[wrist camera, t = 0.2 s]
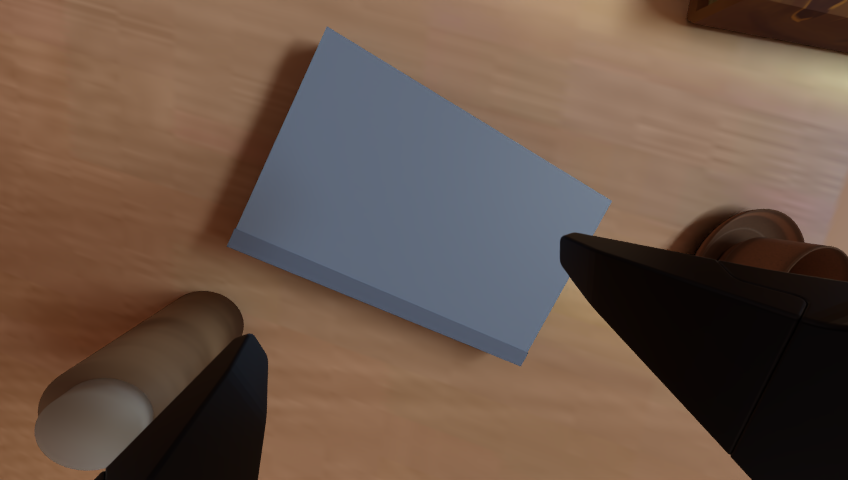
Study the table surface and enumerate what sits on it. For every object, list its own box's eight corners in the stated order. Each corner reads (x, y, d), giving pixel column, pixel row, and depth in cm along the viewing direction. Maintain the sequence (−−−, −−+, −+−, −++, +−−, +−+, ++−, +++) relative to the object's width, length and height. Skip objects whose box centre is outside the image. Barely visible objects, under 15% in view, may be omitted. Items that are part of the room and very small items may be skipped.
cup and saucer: (799, 228, 31) (903, 240, 25) (745, 341, 32) (830, 378, 27) (706, 189, 28) (797, 193, 22) (652, 315, 30) (723, 349, 24)
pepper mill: (227, 366, 24) (131, 496, 14) (154, 342, 22) (-6, 467, 13) (254, 307, 23) (175, 399, 14) (181, 280, 22) (37, 359, 12)
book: (503, 346, 28) (520, 366, 25) (245, 237, 22) (226, 246, 20) (584, 198, 27) (613, 201, 24) (331, 47, 21) (326, 25, 18)
